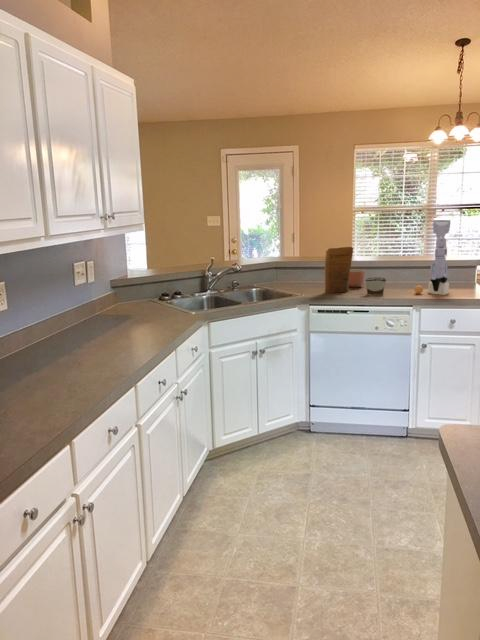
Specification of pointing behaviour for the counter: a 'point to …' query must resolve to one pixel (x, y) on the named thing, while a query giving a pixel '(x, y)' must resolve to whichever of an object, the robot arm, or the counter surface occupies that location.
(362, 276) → the planter
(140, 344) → the counter surface
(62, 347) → the counter surface
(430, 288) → the cream white block
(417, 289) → the ball
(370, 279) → the food container
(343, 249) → the pancake mix bag
